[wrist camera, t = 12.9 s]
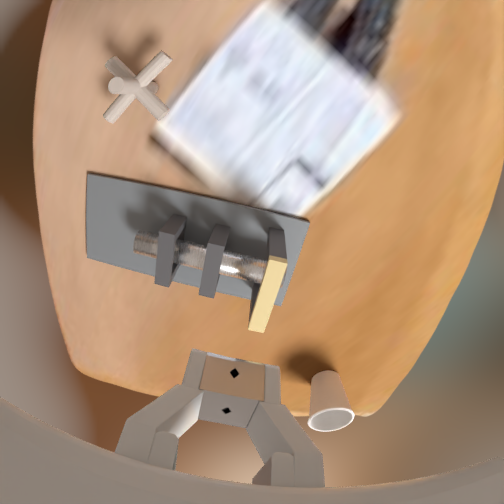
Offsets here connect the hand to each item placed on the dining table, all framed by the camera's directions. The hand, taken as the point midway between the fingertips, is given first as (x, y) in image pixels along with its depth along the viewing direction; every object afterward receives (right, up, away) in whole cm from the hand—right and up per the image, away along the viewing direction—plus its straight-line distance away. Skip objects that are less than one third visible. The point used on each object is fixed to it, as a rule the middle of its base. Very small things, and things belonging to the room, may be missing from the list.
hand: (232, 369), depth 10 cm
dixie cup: (+15, -21, +45) cm, 52 cm away
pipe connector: (-12, +25, +23) cm, 36 cm away
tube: (-5, +4, +31) cm, 32 cm away
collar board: (-9, +6, +33) cm, 34 cm away
